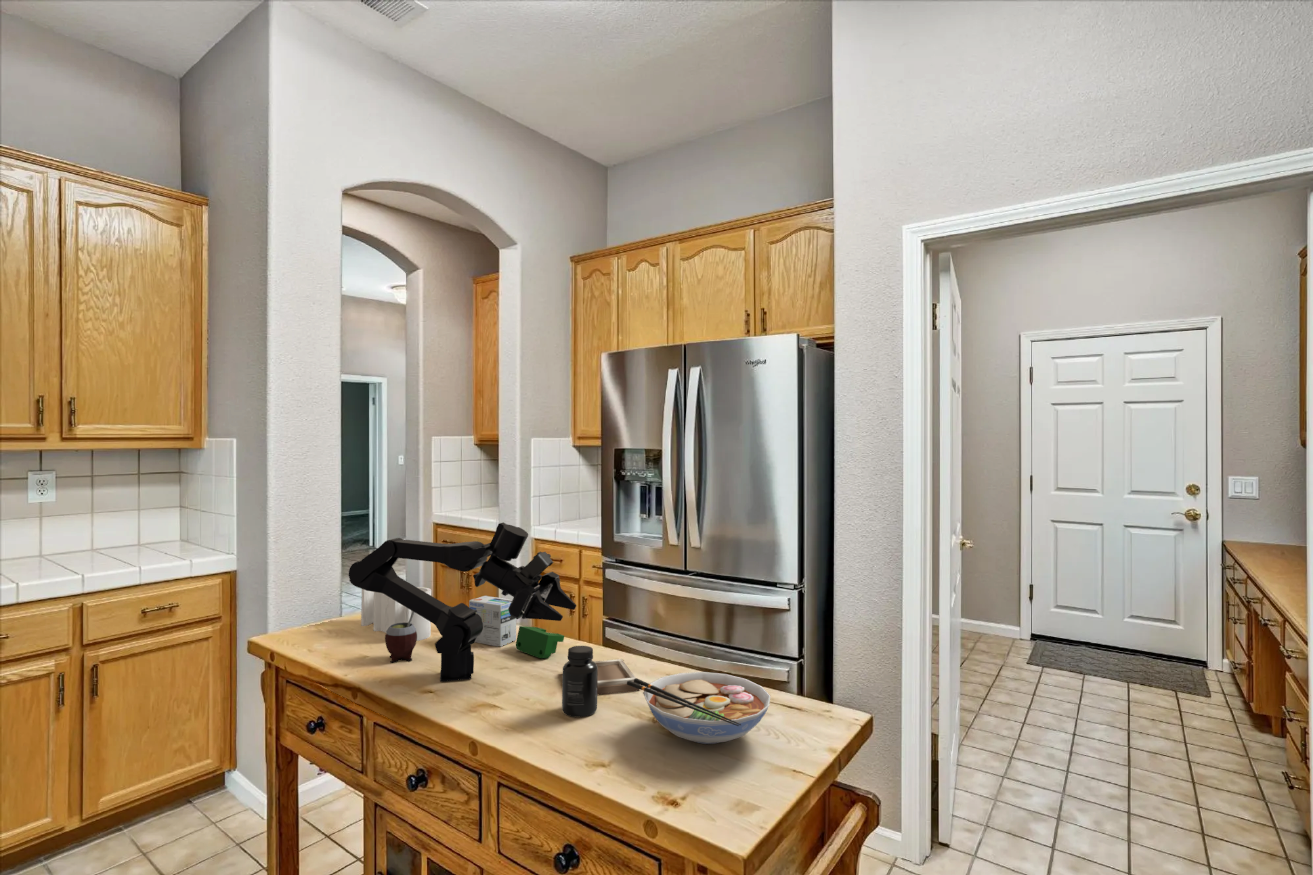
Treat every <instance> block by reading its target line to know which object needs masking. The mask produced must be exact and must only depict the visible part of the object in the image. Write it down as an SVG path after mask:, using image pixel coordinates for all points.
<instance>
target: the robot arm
mask: <svg viewBox="0 0 1313 875" xmlns="http://www.w3.org/2000/svg"><path fill="white" fill-rule="evenodd" d="M528 537H529V533H528V531H526V530H525V529H523V528H522V527H518V526H515V525H511V524H507V523H505V522H500V523H498V524H497V527H496V529H495V533H494V534H493V537H492V539H491V541H490V542H489V543H485V544H484V543H483V542H480V541H479V540H478V541H476V540H474V541H465V542H463V541H462V542H456V543H441V542H430V541H422V540H414V539H413V540H411V539H404V538H401V537H395V538H391V539H387V540H385V541H384V542H383V543H382V544H381V545H379V547H377V548H376V549H374V550H373V551H372V552H370V553H369V554H367V555H366V556H365V557H363V558H362V559H360V560H357V561H355V562H353V563H352V564H351V565H350V567H349V570H348V578H349V582H350V584H351V585H352V586H354V587H356V588H358V589H361V590H362V589H364V590H366V591H372V592H378V593H383V594H385V595H386V596H388V597H390V598H391V599H393V600H395V601H396V602H398V603H400V604H401V605H403V606H405V607H407V608H408V609H410V610H412V611H413V612H415V613H417V614H418V615H420V616H422V617H423V618H425V619H427V620H428V621H430V622H431V624H434V626H435V627H436V628H437V631H438V633H439V634H440V635H441V637H440V638H439V639H438V640H437V641H435V643H434V646H435V652H436V653H437V654H440V656H441V657H440V673H439V674H440V675H439V682H441V683H444V682H455V681H467V680H469V681H470V680H472V675H473V674H474V671H475V670H474V669H475V668H474V667H475V666H474V664H475V660H474V659H475V653H474V651H472V645H474V644H475V643H476V642H475V640H476V638H477V636H479V635H480V634H481V632H482V630H483V622H482V618H481V617H480V616H479V615H478V614H476V612H477V610H473V609H470V608H469V605H467V604H466V603H464V602H460V603H458V604H456V605H454V606H450V605H448V604H445V603H444V602H442V601H441V600H439V599H437V598H435V597H434V596H432V594H431V595H429V594H427V593H425V592H424V591H422V590H420V589H419V588H417V587H418V586H416V585H413V584H412V583H410V582H408V581H407V580H405V579H404V578H402V577H400V576H399V575H397V573H396V571H395V569H394V567H393V566H394V565H396V562H397V561H398V560H399V559H405V560H415V561H422V562H423V561H424V562H429V563H430V562H433V563H439V564H443V565H444V566H446V567H447V568H450V569H453V570H456V571H460V572H463V573H464V572H465V573H466V572H469V571H473V570H475V569H476V568H479V567H480V569H479V571H478V572H477V573H474V574H473V575H472V577H473V579H474V580H473V582H474V586H475V588H478V587H481V586H482V585H485V583H488V584H490V585H492V586H494V587H496V588H497V589H499V590H501V593H500V594H501V595H502V596H504V597H506V596H508V595H509V596H511V597H512V602H511V604H510V606H509V608H508V610H509V613H510V615H511V616H513V617H514V618H516V620H519V619H522V620H525V619H527V620H528V619H529V620H530V619H531V620H543V621H544V620H545V621H555V622H562V620H563V618H564V616H563V614H561V613H560V612H559V611H557V610H556V609H555V608H553V607H558V608H563V609H567V610H576V608H577V604H576V603H575V602H574V600H572V599H571V598H570V596H568V594H566V593H565V591H564V590H563V589H562V587H561V579H560V575H559V574H558V573H555V572H554V571H550V572H547V573H545V574H544V575H542V573H543V572H544V571H545V570H546V569H547V568H548V567H550V566H552V565H553V564H554V561H553V560H552V559H551V558H552V556H551V554H550V553H547V551H538V552H537V553H536V554H535V555H534V556H533V557H532V559H531V560H530V561H529V562H528V563H527V564H526V565H525V566H523V565H521V566H519V567H517V566H515V565H513V564H512V563H510V562H511V561H512V560H517V559H518V557H519V556H520V553H521V552H522V550H523V548H524V545H525V543H526V542H527V538H528ZM488 557H489V558H488ZM552 606H553V607H552Z"/></svg>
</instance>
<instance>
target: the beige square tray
mask: <svg viewBox="0 0 1313 875" xmlns="http://www.w3.org/2000/svg"><path fill="white" fill-rule="evenodd" d="M594 662H595V663H596V665H597V667H598V691H597V696H598V694H599V696H600V695H610V694H619V693H618V692H621V693H629V692H637V691H638V692H639V691H641V690H640V689H637V688H635V687H632V686H629V685H627V681H632V682H634V679H635V678H637V677H636V676H635V675H634V673H633V672H632V671H631V669H630V667H629V666H628V665H627V664H626V663H625V661H624V660H623V659H622V658H618V659H607V660H594ZM634 683H635V682H634ZM639 685H640V684H639Z"/></svg>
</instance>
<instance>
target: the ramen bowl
mask: <svg viewBox="0 0 1313 875" xmlns="http://www.w3.org/2000/svg"><path fill="white" fill-rule="evenodd" d="M634 682H635V683H634ZM634 682H632V681H627V685H629V686H632V687H635V688H637V689H640V690H639V691H643V692H642V695H643V696H644V699H645V700H646V704H647V705H648V707H649V710H650V712H651V713H652V715H653V717H654V719H655V720H656V721H657V722H658V724H660V726H662V727H663V728H665V729H666V730H667V731H668V732H670V733H671V734H673V735H675V736H676V737H679V738H682V739H685V740H688V741H690V742H695V743H697V744H703V745H716V744H720V743H724V742H725V743H726V742H729V741H732V740H736V739H739V738H742V737H743V736H745V735H746V734H747V733H748V732H750V731H751V730H752V729H754V728H755V727H756V726H757V725H758V724H759V723H760V721H761V720H762V719H763V717H764V716H765V714H766V712H767V710H769V707H770V704H771V695H770V694H769V693H768V691H767V690H765V688H764V687H763V686H761V685H760V684H757V683H755V682H753V681H751V680H749V679H746V678H743V677H739V676H736V675H735V676H734V675H731V674H727V673H718V672H708V671H696V672H695V671H694V672H679V673H674V674H671V675H665V676H660V678H657V679H656V680H653V681H652V682H650V683H649V682H647V681H644V680H642V679H639V678H638V677H636V678H635V679H634ZM639 684H640V685H639Z"/></svg>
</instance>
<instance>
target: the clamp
mask: <svg viewBox="0 0 1313 875" xmlns="http://www.w3.org/2000/svg"><path fill="white" fill-rule="evenodd" d="M564 640H565V635H563V634H560V633H554V632H548V631H547V629H545V628H541V627H535V626H524V625H519V627H518V632H517V635H516V641H515V648H516V650H517V651H519V652H522V653H525V654H528V655H530V656H533V657H536V658H538V659H549V658H551V655H552V654H555V653H556V652H557V647H558V643H564Z"/></svg>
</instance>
